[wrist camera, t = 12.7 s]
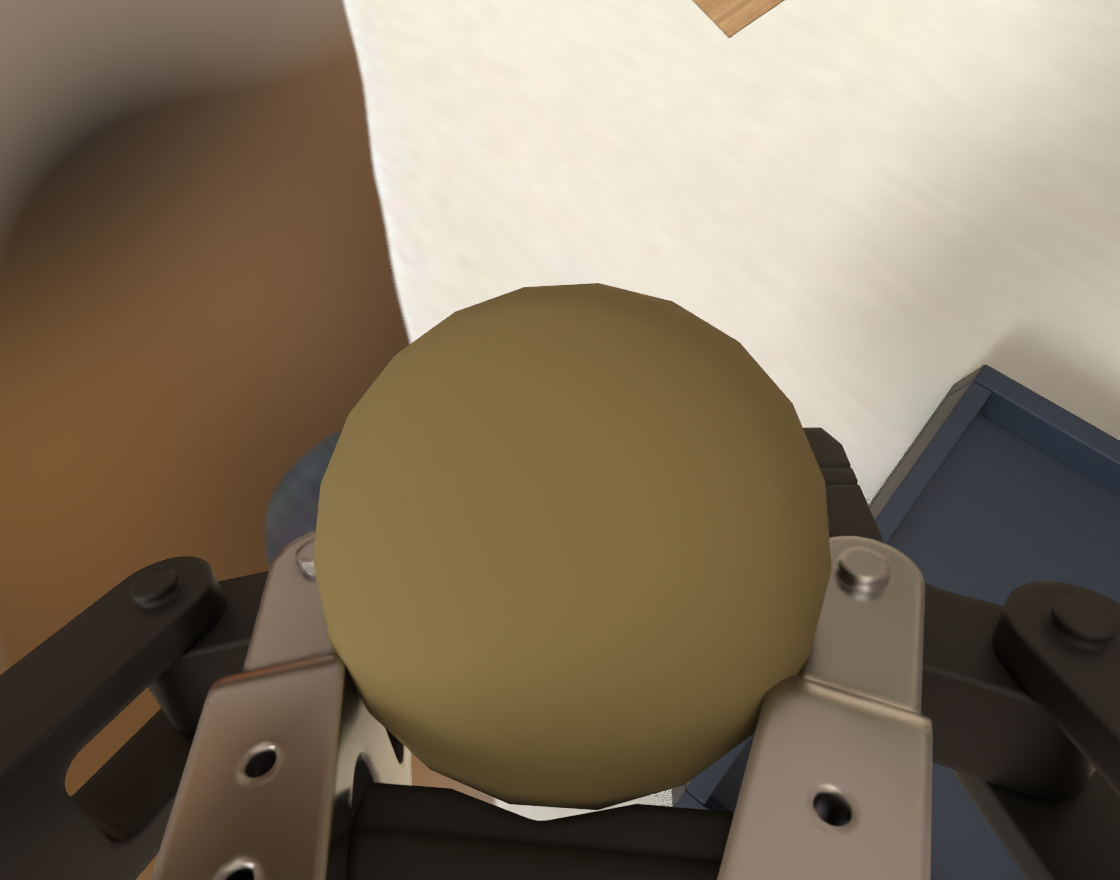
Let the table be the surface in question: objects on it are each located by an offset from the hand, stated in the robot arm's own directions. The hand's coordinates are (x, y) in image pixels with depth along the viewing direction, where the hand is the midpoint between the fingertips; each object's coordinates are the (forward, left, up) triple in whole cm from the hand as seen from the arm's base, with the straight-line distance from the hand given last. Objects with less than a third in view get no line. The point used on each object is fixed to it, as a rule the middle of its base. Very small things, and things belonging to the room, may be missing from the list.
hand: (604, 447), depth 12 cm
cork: (+2, +1, -5) cm, 5 cm away
